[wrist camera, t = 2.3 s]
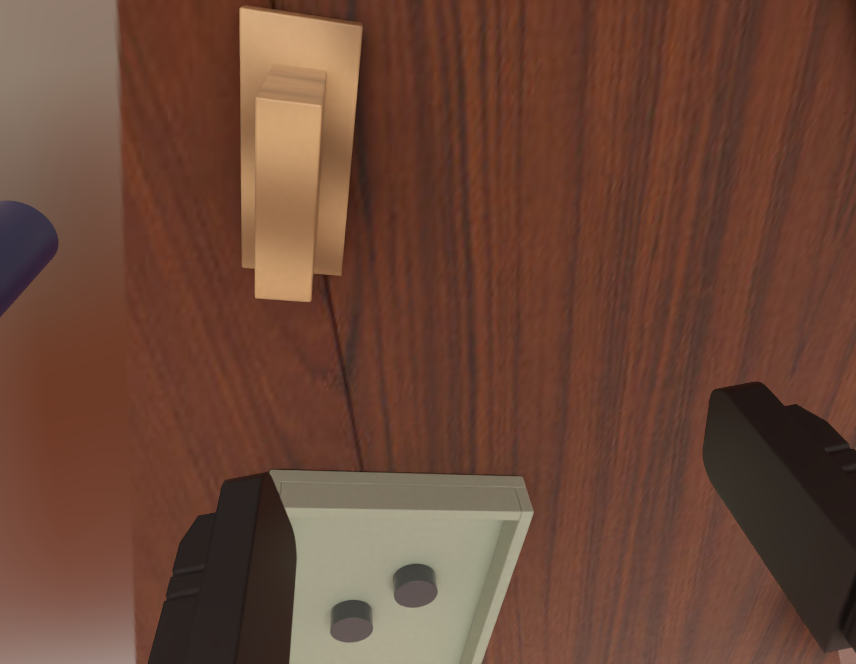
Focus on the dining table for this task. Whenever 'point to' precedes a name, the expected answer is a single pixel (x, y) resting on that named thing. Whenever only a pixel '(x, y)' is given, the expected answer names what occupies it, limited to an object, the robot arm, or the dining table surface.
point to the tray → (401, 560)
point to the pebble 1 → (351, 621)
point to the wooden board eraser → (295, 145)
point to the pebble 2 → (414, 585)
